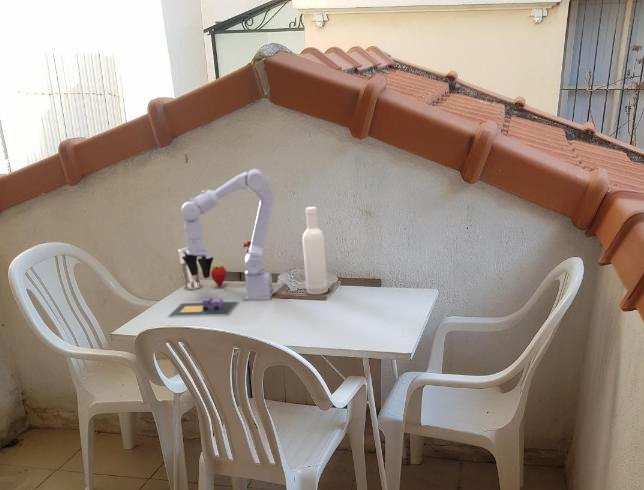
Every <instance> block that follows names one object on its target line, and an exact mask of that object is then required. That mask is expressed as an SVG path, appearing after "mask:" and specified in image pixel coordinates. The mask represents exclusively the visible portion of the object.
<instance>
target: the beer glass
mask: <svg viewBox="0 0 644 490" xmlns="http://www.w3.org/2000/svg"><path fill="white" fill-rule="evenodd" d="M184 248H188V246H186V247H181V248H179V249H178V257H179V262H180V267H181V270H182V272H183V275H184V279H185V289H186V290H197V289H200V288H201V287H202V284H201V281H200V277H199V262H198V261H197V274H196V275H193V276H192V275H191V273H190V270H189V268H188V266H187V264H186V262H185V261H184V260H183V258H182V257H183V256H185V254H183V249H184ZM198 257H199V256H197V259H199V258H198Z"/></svg>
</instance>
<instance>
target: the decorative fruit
mask: <svg viewBox="0 0 644 490" xmlns="http://www.w3.org/2000/svg"><path fill="white" fill-rule="evenodd" d="M218 262H219V261H217V262H216V264H215V265H211V269H210V277H211V278H212V280H213V282H215V284H216V285H217V286H218V287H222V285H223V283H224V281H225V279H226V277H227V269H226V268H225V267H224V265H223V264H218Z"/></svg>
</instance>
